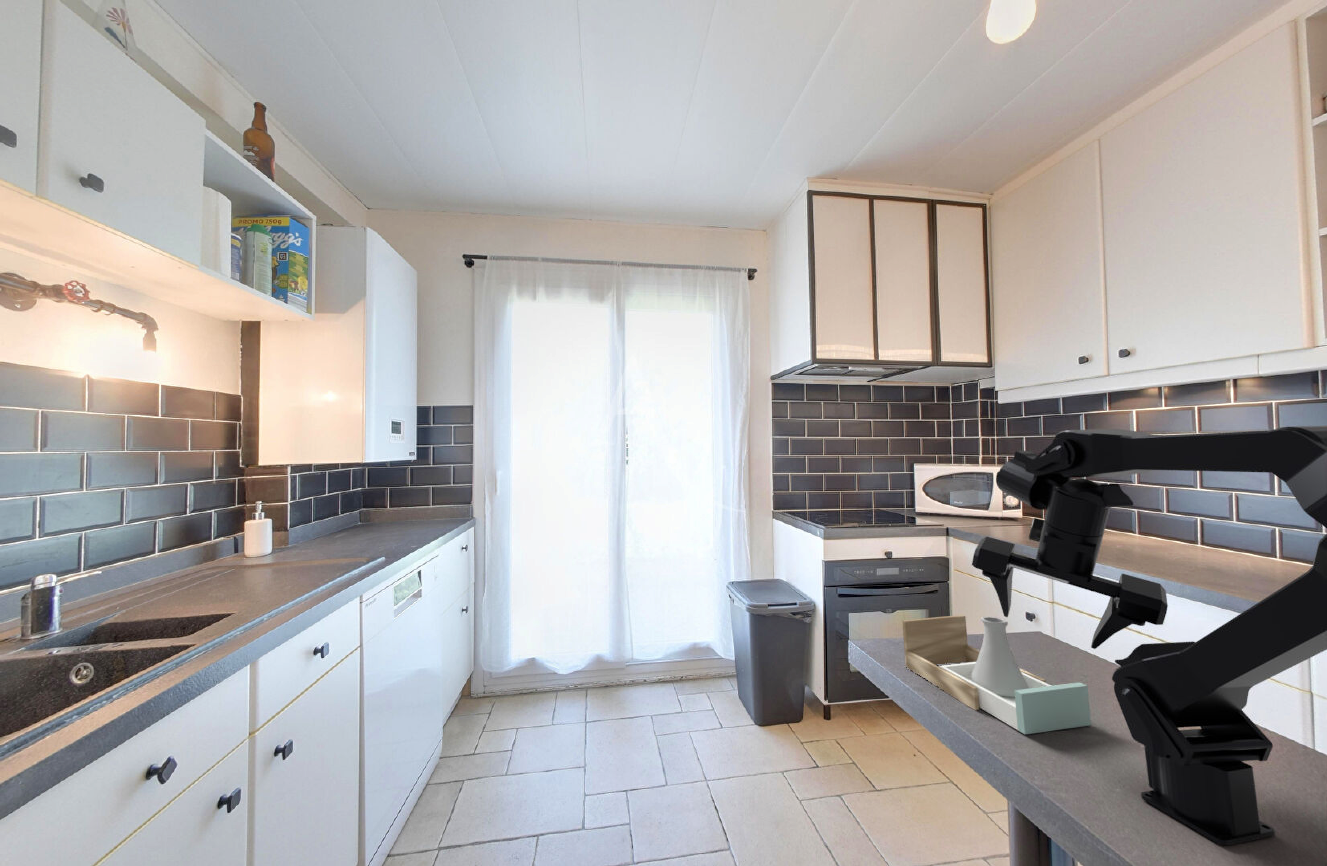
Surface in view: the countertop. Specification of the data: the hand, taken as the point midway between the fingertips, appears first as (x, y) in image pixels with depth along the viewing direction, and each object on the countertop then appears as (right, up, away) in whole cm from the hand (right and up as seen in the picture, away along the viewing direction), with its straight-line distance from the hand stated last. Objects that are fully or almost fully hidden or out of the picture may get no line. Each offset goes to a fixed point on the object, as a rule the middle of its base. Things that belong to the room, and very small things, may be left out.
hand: (1047, 630), depth 63 cm
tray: (-2, -13, +5) cm, 14 cm away
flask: (-1, -12, +7) cm, 14 cm away
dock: (-3, -13, +11) cm, 18 cm away
